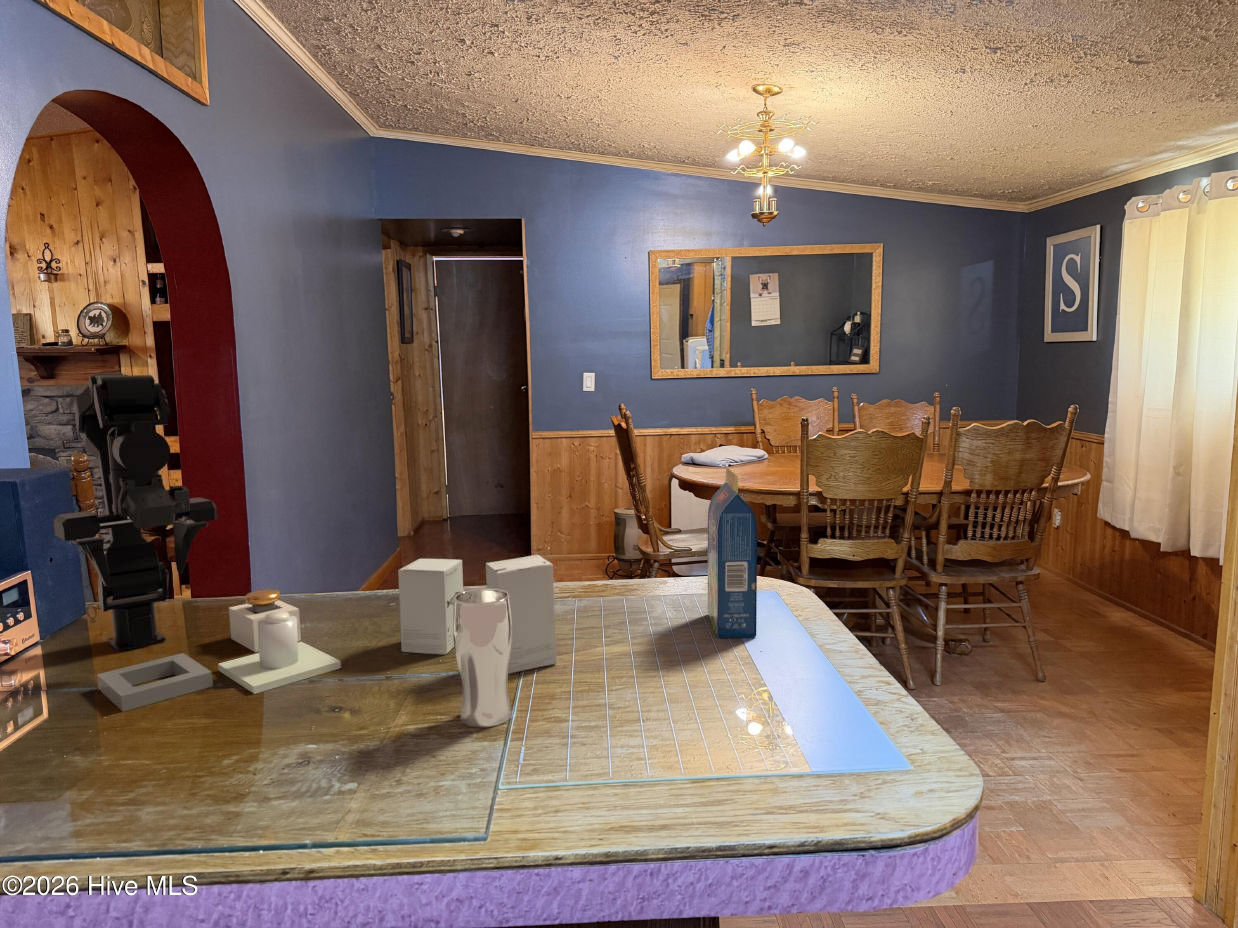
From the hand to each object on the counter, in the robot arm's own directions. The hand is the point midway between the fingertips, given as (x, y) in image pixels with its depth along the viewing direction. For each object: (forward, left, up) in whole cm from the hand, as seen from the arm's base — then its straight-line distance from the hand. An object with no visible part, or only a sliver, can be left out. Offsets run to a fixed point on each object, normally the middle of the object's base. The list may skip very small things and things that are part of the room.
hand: (144, 578), depth 113 cm
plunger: (0, +16, -11) cm, 20 cm away
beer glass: (+48, +22, -13) cm, 54 cm away
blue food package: (+50, +69, -13) cm, 86 cm away
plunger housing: (0, +16, -13) cm, 21 cm away
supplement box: (+22, +32, -13) cm, 41 cm away
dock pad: (+14, +12, -13) cm, 23 cm away
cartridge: (+14, +12, -12) cm, 22 cm away
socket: (+8, -2, -13) cm, 15 cm away
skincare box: (+38, +36, -13) cm, 54 cm away
